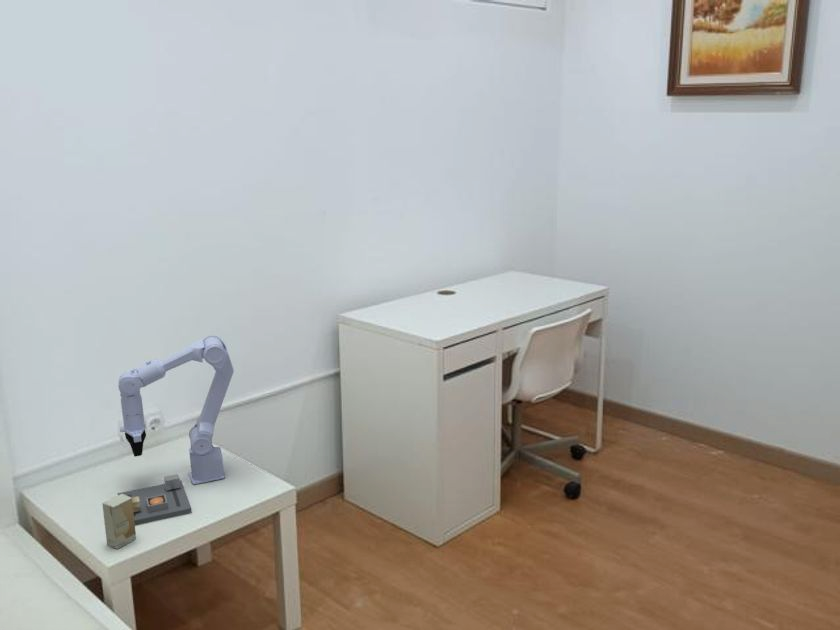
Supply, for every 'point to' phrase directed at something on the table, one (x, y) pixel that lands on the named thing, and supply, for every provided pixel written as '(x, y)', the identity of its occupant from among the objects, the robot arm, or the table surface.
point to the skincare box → (119, 521)
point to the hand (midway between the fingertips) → (137, 455)
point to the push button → (156, 501)
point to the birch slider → (136, 504)
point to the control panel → (172, 505)
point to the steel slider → (172, 482)
